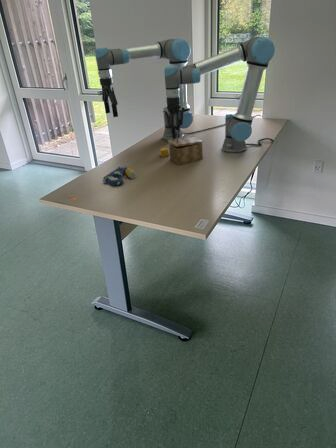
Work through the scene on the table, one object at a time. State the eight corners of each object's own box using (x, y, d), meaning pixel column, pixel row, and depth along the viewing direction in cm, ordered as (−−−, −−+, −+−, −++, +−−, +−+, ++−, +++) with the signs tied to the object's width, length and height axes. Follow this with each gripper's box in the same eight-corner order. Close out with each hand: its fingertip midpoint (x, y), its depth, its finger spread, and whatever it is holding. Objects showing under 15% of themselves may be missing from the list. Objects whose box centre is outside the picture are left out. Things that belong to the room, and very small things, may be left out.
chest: (179, 164, 202) (178, 149, 197) (170, 159, 211) (169, 144, 206) (202, 158, 208) (202, 143, 203) (193, 153, 217) (192, 138, 211)
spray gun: (141, 172, 194) (120, 170, 201) (140, 166, 192) (119, 164, 199) (122, 188, 179) (100, 185, 185) (121, 181, 177) (98, 178, 183)
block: (161, 157, 215) (160, 150, 213) (160, 155, 219) (160, 148, 217) (168, 156, 216) (167, 149, 214) (167, 154, 219) (166, 147, 217)
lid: (176, 146, 195) (176, 131, 191) (167, 142, 204) (167, 127, 200) (202, 143, 202) (202, 128, 198) (192, 138, 211) (193, 124, 207)
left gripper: (93, 76, 203) (99, 112, 214) (107, 80, 184) (113, 119, 195) (104, 75, 206) (110, 110, 217) (119, 78, 187) (125, 117, 198)
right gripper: (164, 99, 181) (167, 142, 194) (187, 95, 187) (189, 136, 199) (158, 97, 187) (162, 139, 199) (181, 93, 192) (183, 134, 205)
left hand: (111, 114), depth 206 cm, fingers open, 13 cm apart
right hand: (175, 137), depth 199 cm, fingers closed on lid, 2 cm apart
